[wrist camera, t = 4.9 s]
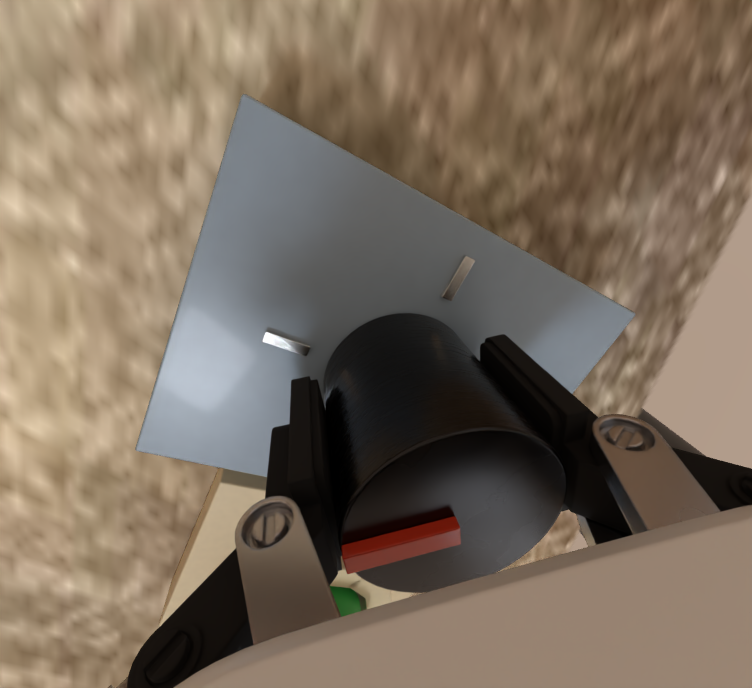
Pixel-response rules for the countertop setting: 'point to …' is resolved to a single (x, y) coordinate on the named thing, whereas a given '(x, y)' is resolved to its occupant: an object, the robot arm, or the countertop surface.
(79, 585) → the countertop surface
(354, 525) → the dial
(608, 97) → the countertop surface
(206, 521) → the block
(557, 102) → the countertop surface
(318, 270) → the panel
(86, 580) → the countertop surface
